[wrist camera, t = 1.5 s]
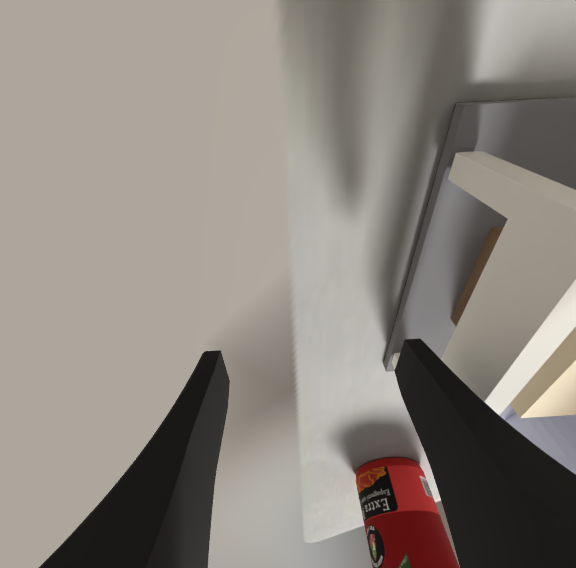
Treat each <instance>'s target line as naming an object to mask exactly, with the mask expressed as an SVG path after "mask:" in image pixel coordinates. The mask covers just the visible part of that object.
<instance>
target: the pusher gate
mask: <svg viewBox="0 0 576 568" xmlns="http://www.w3.org/2000/svg"><path fill="white" fill-rule="evenodd" d="M448 180H450V181H451V182H453V183H454V184H456V185H457V186H459V187H460V188H462V189H463V190H465V191H466V192H468V193H469V194H471V195H472V196H474V197H475V198H477V199H478V200H480V201H481V202H483V203H485V204H486V205H488V206H489V207H491V208H492V209H494V210H495V211H497V212H498V213H500V214H501V215H503V216H504V217H506V218H507V222H506V224H505V226H504V228H503V230H502V232H501V234H500V236H499V238H498V240H497V242H496V245H495V247H494V249H493V251H492V253H491V255H490V257H489V259H488V261H487V263H486V266H485V268H484V270H483V272H482V274H481V276H480V278H479V280H478V282H477V284H476V287H475V289H474V291H473V293H472V295H471V297H470V299H469V301H468V303H467V305H466V307H465V310H464V312H463V314H462V316H461V318H460V320H459V322H458V324H457V326H456V328H455V331H454V333H453V335H452V337H451V339H450V341H449V343H448V345H447V347H446V349H445V352H444V354H443V356H442V358H441V360H442V361H443V362H444V363H445V364H446V365H447V366H448V367H449V368H450V369H451V370H452V371H453V372H454V373H455V374H456V375H457V376H458V377H459V378H460V379H461V380H462V381H463V382H464V383H465V384H466V385H467V386H468V387H469V388H470V389H471V390H472V391H473V392H474V393H475V394H476V395H477V396H478V397H479V398H480V399H482V400H483V401H484V402H485V403H486V404H487V405H488V406H489V407H490V408H491V409H493V410H494V411H495V412H496V413H497V414H498V415H500V414H501V413H502V412H503V411H504V410H505V408H506V407H507V406H508V405H509V404H510V403H511V401H512V400H513V399H514V398H515V397H516V396H517V394H518V393H519V392H520V391H521V390H522V389H523V387H524V386H525V385H526V384H527V383H528V382H529V380H530V379H531V378H532V377H533V376H534V375H535V373H536V372H537V371H538V370H539V369H540V367H541V366H542V365H543V364H544V363H545V362H546V360H547V359H548V358H549V357H550V356H551V355H552V353H553V352H554V351H555V350H556V349H557V348H558V346H559V345H560V344H561V343H562V342H563V341H564V339H565V338H566V337H567V336H568V335H569V334H570V332H571V331H572V330H573V329H574V328H575V327H576V190H575V189H572V188H570V187H567V186H565V185H563V184H560V183H558V182H555V181H553V180H550V179H548V178H546V177H543V176H541V175H538V174H536V173H534V172H531V171H529V170H526V169H524V168H522V167H519V166H517V165H514V164H512V163H509V162H507V161H505V160H502V159H500V158H497V157H495V156H493V155H490V154H488V153H485V152H483V151H476V152H458V153H456V154H455V158H454V161H453V164H452V167H451V171H450V174H449V177H448ZM399 356H400V353H395V354H394V357H393V360H392V365H393V367H394V370H395V368H396V365H397V362H398V359H399Z"/></svg>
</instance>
